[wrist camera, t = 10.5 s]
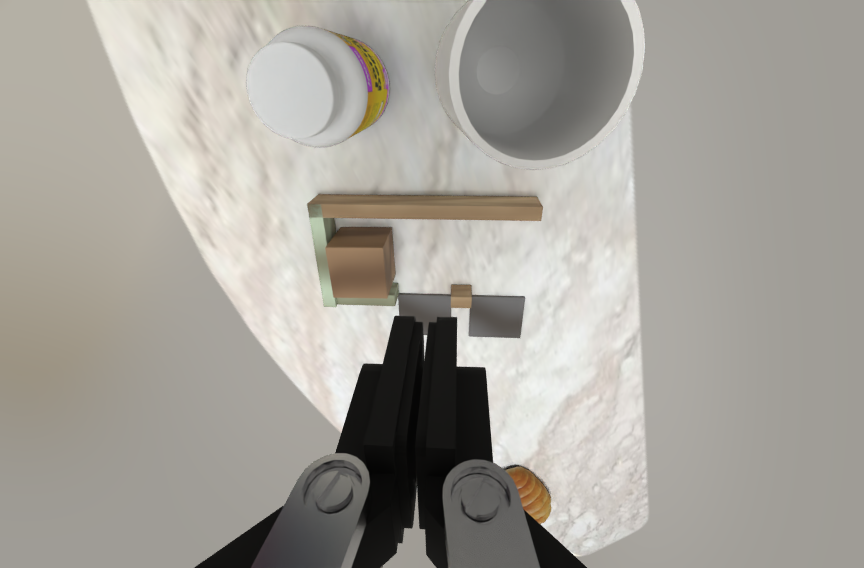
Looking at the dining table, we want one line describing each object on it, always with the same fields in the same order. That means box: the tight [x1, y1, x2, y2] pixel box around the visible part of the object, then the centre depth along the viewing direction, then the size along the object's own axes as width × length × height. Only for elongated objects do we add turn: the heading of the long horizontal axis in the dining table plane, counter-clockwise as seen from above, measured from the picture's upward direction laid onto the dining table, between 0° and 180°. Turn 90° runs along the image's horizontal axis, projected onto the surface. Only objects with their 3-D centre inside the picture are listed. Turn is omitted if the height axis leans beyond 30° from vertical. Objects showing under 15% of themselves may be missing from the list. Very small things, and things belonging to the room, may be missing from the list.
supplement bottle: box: [246, 26, 390, 147], centre depth 26 cm, size 7×7×13 cm
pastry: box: [505, 466, 551, 524], centre depth 53 cm, size 9×7×4 cm
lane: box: [307, 194, 543, 338], centre depth 38 cm, size 15×20×3 cm
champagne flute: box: [435, 0, 645, 170], centre depth 20 cm, size 7×7×24 cm
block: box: [325, 227, 395, 299], centre depth 37 cm, size 5×5×5 cm
